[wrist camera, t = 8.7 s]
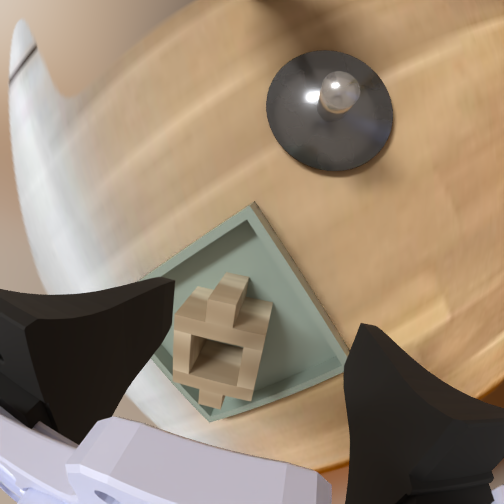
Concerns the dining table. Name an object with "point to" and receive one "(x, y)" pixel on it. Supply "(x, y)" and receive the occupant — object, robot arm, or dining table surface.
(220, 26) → the dining table surface
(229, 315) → the beige hollow block
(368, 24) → the dining table surface
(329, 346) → the tray
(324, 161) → the grey metal round stand
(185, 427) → the dining table surface
